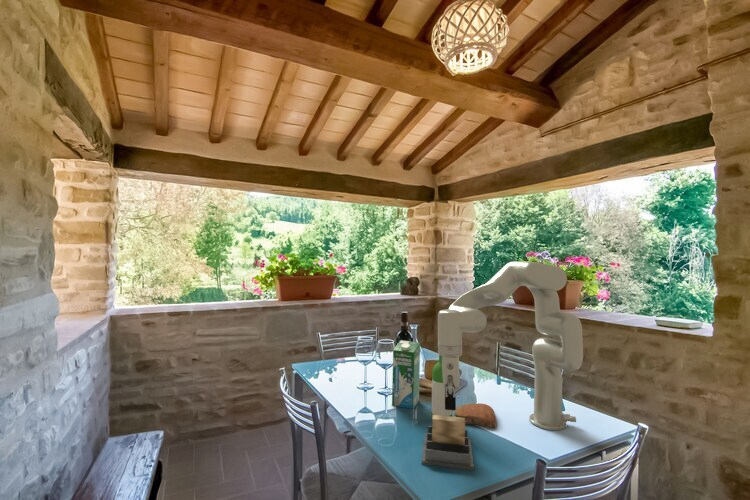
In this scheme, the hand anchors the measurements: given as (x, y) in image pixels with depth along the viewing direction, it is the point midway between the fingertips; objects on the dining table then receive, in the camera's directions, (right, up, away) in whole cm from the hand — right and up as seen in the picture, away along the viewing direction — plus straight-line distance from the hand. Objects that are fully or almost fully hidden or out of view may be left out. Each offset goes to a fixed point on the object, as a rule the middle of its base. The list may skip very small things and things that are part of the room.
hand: (450, 403), depth 119 cm
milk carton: (-11, -16, +38) cm, 42 cm away
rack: (-1, -15, -1) cm, 15 cm away
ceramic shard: (+14, -17, +25) cm, 33 cm away
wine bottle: (+1, -16, +21) cm, 27 cm away
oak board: (-1, -14, 0) cm, 14 cm away
